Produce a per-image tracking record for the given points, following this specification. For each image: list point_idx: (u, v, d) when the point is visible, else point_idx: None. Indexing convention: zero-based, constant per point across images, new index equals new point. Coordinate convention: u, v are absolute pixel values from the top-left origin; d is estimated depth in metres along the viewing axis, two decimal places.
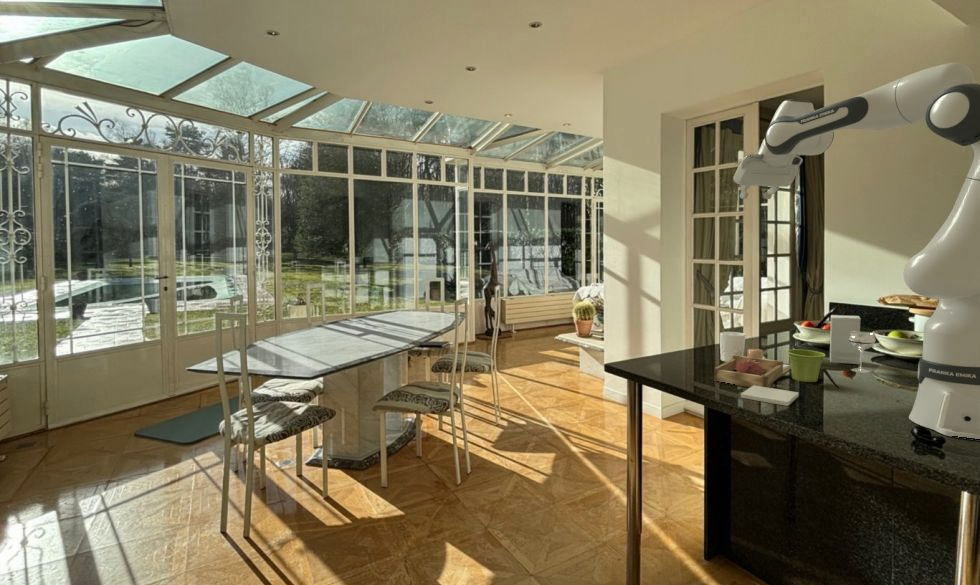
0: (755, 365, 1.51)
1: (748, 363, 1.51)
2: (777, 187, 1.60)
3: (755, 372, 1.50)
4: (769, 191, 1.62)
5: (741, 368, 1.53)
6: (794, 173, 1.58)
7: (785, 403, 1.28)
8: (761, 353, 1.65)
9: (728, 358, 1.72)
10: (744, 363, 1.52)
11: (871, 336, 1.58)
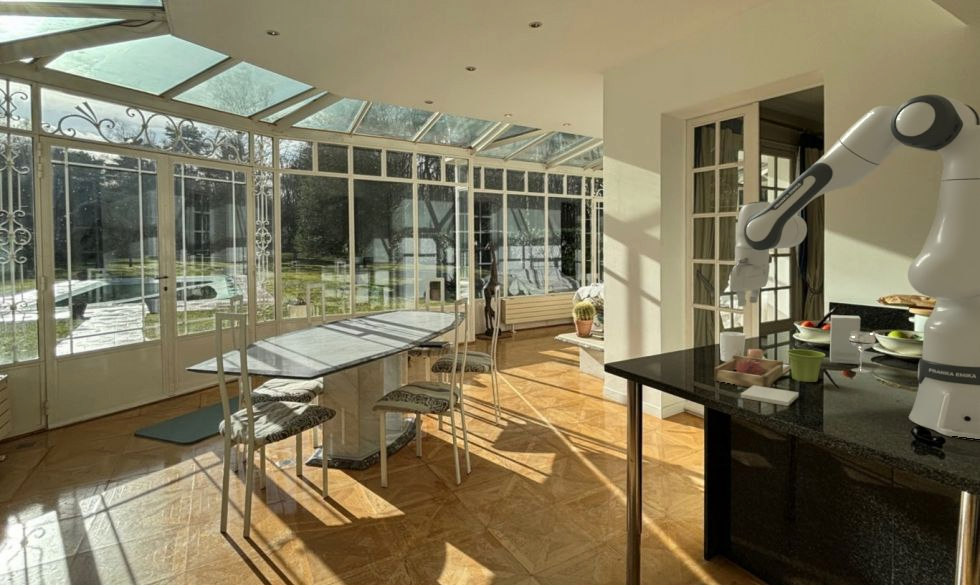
0: (755, 365, 1.51)
1: (748, 363, 1.51)
2: (759, 289, 1.56)
3: (755, 372, 1.50)
4: (753, 295, 1.57)
5: (741, 368, 1.53)
6: (768, 272, 1.57)
7: (785, 403, 1.28)
8: (761, 353, 1.65)
9: (728, 358, 1.72)
10: (744, 363, 1.52)
11: (871, 336, 1.58)
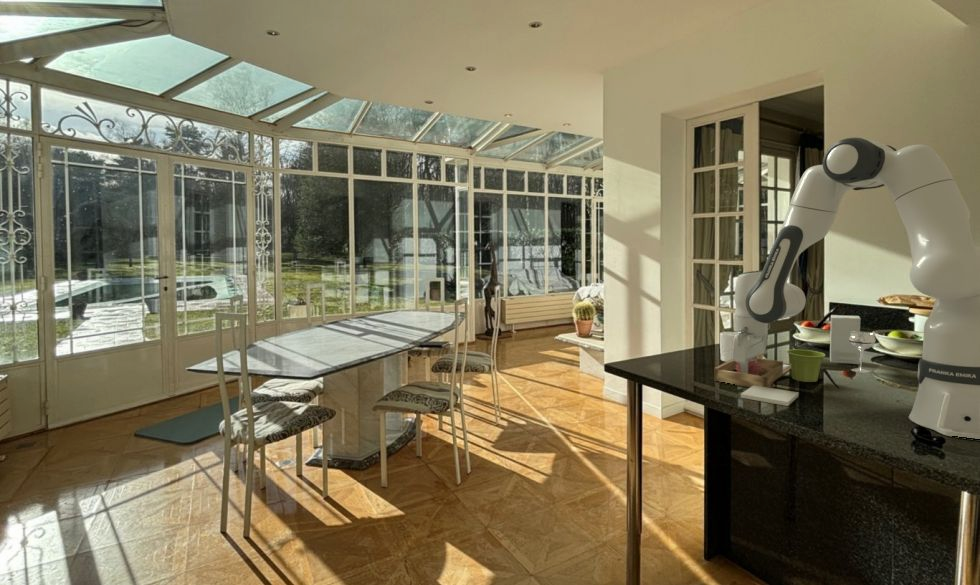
0: (755, 365, 1.51)
1: (748, 363, 1.51)
2: (757, 355, 1.55)
3: (755, 372, 1.50)
4: None
5: None
6: (766, 337, 1.57)
7: (785, 403, 1.28)
8: (761, 353, 1.65)
9: (728, 358, 1.72)
10: None
11: (871, 336, 1.58)
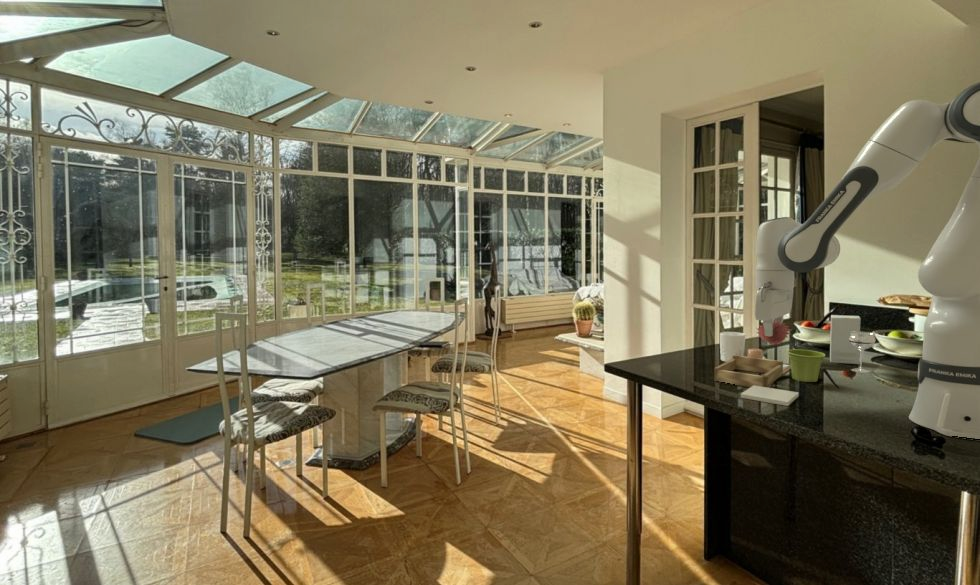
0: (780, 327, 1.32)
1: None
2: (782, 316, 1.37)
3: (780, 334, 1.32)
4: None
5: (764, 331, 1.34)
6: (792, 296, 1.39)
7: (785, 403, 1.28)
8: (761, 353, 1.65)
9: (728, 358, 1.72)
10: None
11: (871, 336, 1.58)
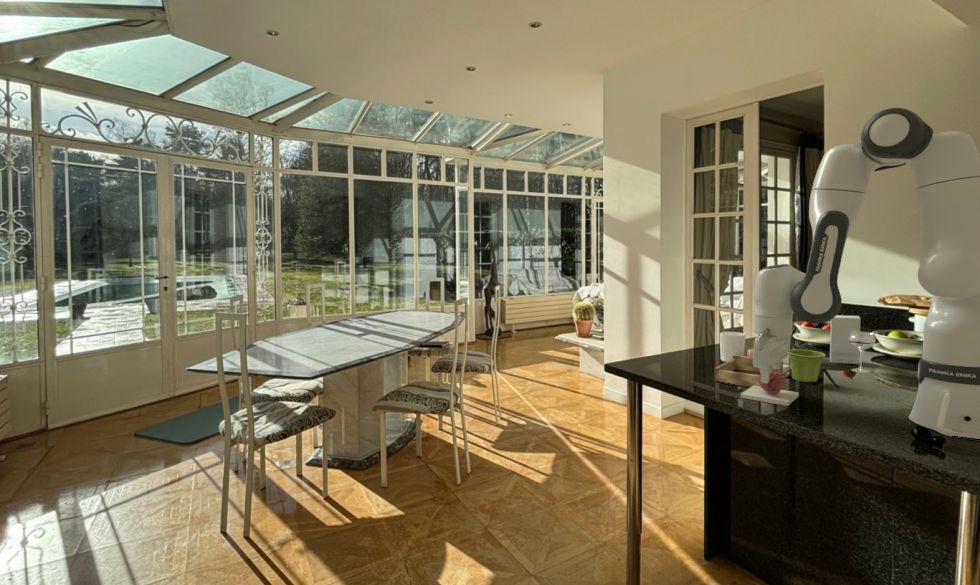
0: (778, 377, 1.33)
1: (770, 374, 1.34)
2: (781, 360, 1.39)
3: (778, 385, 1.33)
4: (774, 367, 1.39)
5: None
6: (789, 340, 1.39)
7: (785, 403, 1.28)
8: None
9: (728, 358, 1.72)
10: None
11: (871, 336, 1.58)
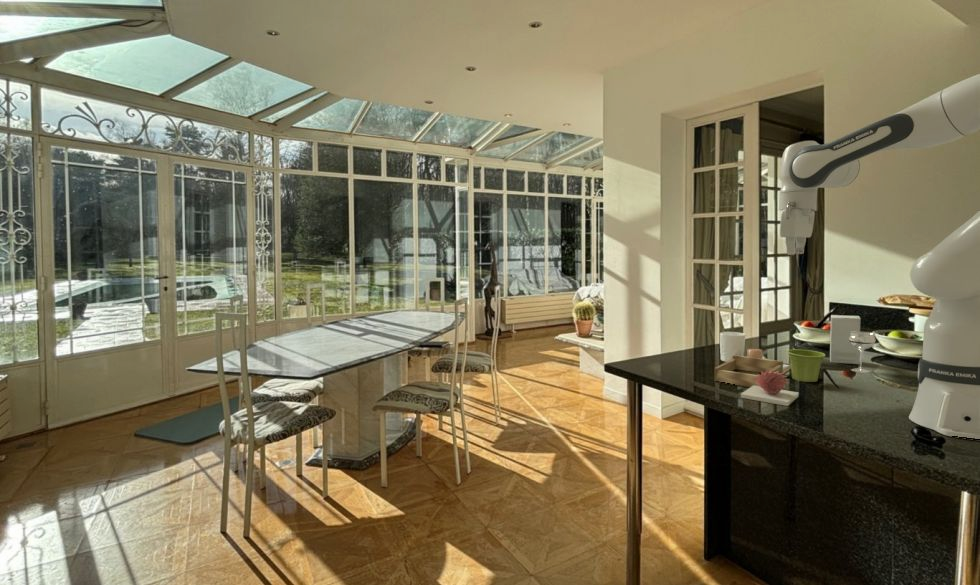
0: (778, 377, 1.33)
1: (770, 374, 1.34)
2: (805, 239, 1.45)
3: (778, 385, 1.33)
4: (798, 246, 1.46)
5: (762, 380, 1.35)
6: (813, 220, 1.46)
7: (785, 403, 1.28)
8: (759, 353, 1.65)
9: (728, 358, 1.72)
10: (766, 374, 1.34)
11: (871, 336, 1.58)
